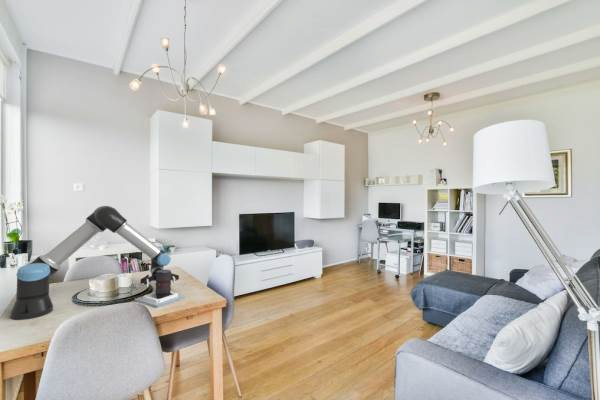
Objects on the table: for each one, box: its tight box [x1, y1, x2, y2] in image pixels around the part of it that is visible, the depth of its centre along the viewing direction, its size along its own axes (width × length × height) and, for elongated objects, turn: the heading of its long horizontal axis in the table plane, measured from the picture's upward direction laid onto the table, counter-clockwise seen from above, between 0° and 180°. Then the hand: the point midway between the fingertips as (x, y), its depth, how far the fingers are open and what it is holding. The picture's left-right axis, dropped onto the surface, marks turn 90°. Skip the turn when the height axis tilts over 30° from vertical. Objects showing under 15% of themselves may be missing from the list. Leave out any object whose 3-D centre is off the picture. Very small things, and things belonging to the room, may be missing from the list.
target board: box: [134, 291, 186, 309], centre depth 162 cm, size 20×18×3 cm
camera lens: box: [154, 269, 172, 299], centre depth 163 cm, size 8×8×15 cm
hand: (161, 282), depth 159 cm, fingers open, 13 cm apart
